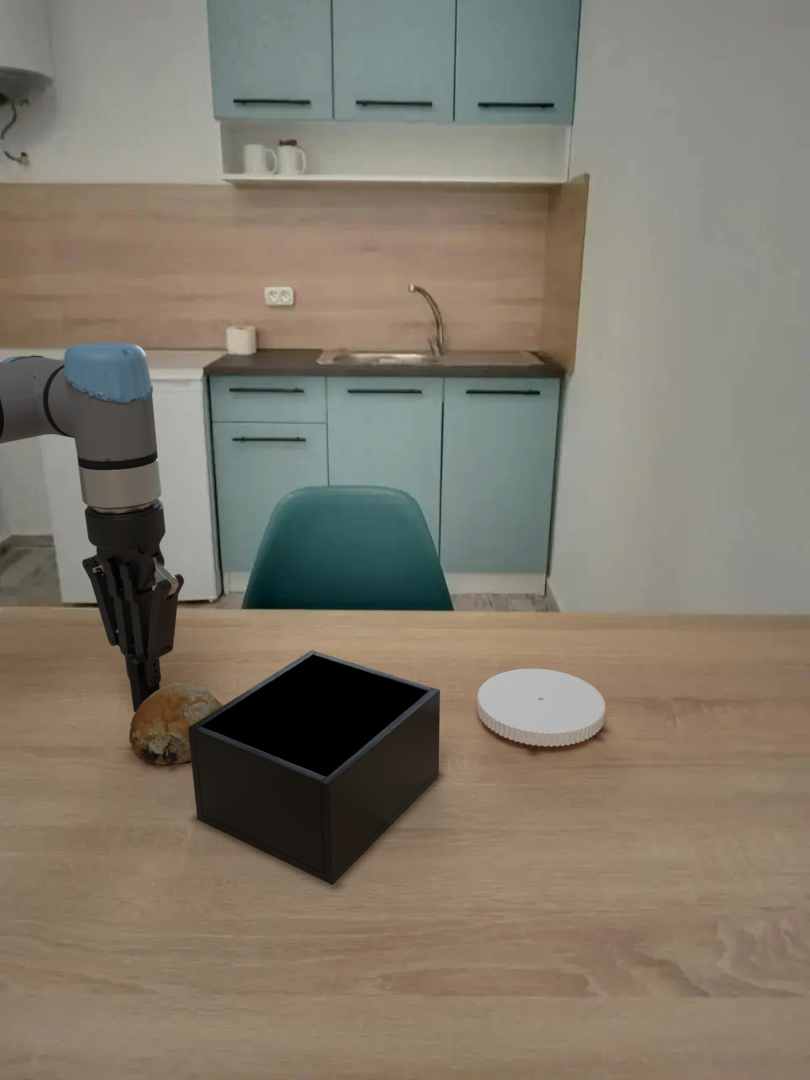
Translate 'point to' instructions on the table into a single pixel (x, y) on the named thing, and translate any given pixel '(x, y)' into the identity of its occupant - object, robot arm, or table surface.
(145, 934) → the table surface
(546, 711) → the plastic lid
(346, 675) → the black storage bin
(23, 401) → the robot arm
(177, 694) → the bread roll
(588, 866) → the table surface
